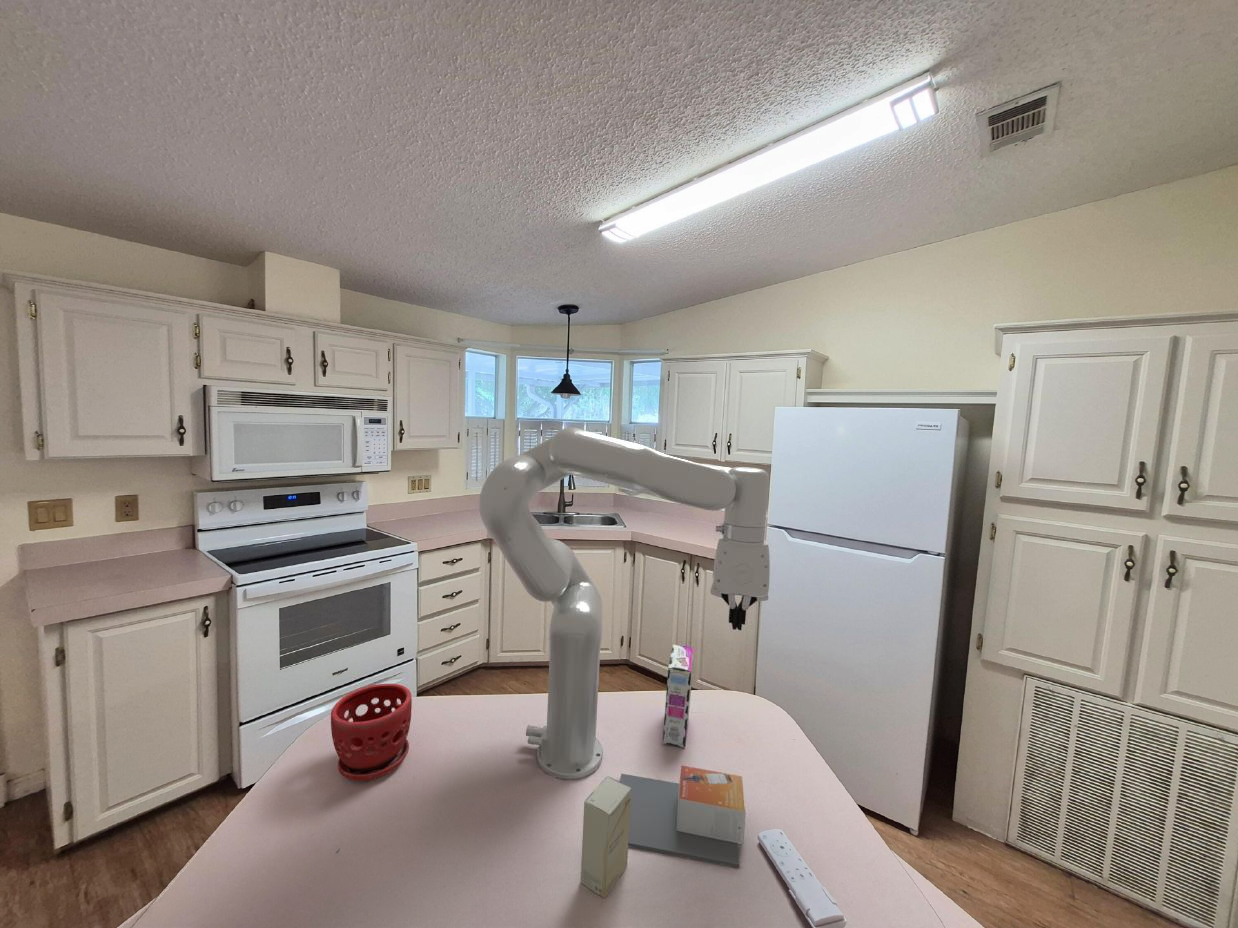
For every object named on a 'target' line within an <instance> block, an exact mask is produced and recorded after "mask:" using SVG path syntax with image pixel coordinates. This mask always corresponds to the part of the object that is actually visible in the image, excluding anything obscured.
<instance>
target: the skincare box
mask: <svg viewBox="0 0 1238 928" xmlns="http://www.w3.org/2000/svg"><path fill="white" fill-rule="evenodd" d="M630 800H631V788H630V787H629V786H627V785H625V784H623V783H621V782H620V780H618V779H615V778H614V777H611V776H610V775H607V776H606V777H604V779H603V780H602V781H601V782H600V783H599V784H598V785H597V786H596V787H595V789H594V790H593V791H592V792H590V794H589V795H588V796H587V797H586V798H585V799H584V802H583V821H582V822H583V823H582V840H581V841H582V843H581V862H580V864H581V865H580V883H581V884H583V885H585V886H586V887H587V888H589V889H590V890H591V891H593V892H594V893H596V894H598V895H599V896H601V897H603V898H606V896H608V894H609V892H611V889H613V887H614V885H616V883H617V881H618V880H619V879H620V877H621V876H622V874H623V873H624V872H625V870H626V868H627V866H628V857H629V856H628V854H629V847H628V839H629V819H630Z"/></svg>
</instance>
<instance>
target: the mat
mask: <svg viewBox="0 0 1238 928" xmlns="http://www.w3.org/2000/svg"><path fill="white" fill-rule="evenodd" d="M619 778H620V779H619V782H621V783H623V784H625V785H627V786H629V787H630V788H631V800H630V819H629V839H628V848H629V847H630V848H634V849H638V850H639V849H640V850H644V851H648V852H649V851H650V852H654V853H659V854H665V855H668V856H669V855H670V856H675V857H680V858H683V859H684V858H686V859H691V860H695V861H700V862H705V863H711V864H716V865H721V866H726V867H730V868H737V869H740V868H741V867H740V865H741V863H740V854H739V844H738V843H733V842H728V841H723V840H718V839H714V838H709V837H704V836H699V835H694V834H689V833H684V832H680V831H677V811H678V792H679V782H674V781H667V780H666V781H665V780H661V779H655V778H650V777H645V776H639V775H632V774H626V773H621V774H620V777H619Z"/></svg>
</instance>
